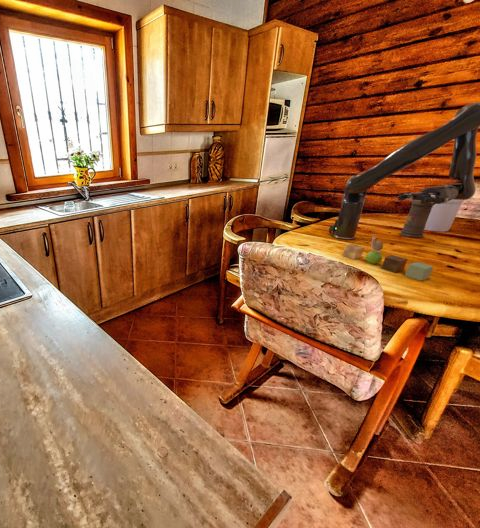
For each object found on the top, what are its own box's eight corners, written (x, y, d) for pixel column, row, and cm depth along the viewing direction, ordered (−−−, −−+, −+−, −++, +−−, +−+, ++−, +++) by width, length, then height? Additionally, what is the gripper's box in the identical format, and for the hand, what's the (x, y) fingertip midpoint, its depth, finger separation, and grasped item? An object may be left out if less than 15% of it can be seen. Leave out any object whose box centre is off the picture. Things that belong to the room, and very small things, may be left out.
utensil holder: (427, 224, 167) (438, 194, 160) (458, 230, 153) (472, 198, 146) (406, 226, 165) (417, 196, 158) (436, 233, 151) (449, 201, 144)
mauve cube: (342, 255, 129) (345, 245, 127) (349, 254, 131) (352, 244, 129) (353, 259, 125) (356, 249, 123) (361, 257, 127) (364, 247, 125)
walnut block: (381, 268, 115) (385, 257, 113) (389, 266, 117) (393, 255, 115) (395, 272, 111) (399, 261, 109) (403, 270, 113) (407, 259, 111)
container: (420, 234, 151) (432, 201, 144) (424, 238, 144) (438, 204, 137) (398, 232, 156) (409, 200, 149) (401, 236, 149) (413, 203, 142)
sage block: (404, 275, 109) (409, 264, 107) (412, 273, 110) (417, 261, 108) (420, 280, 104) (425, 268, 102) (428, 278, 106) (433, 266, 104)
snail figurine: (372, 259, 124) (380, 234, 119) (383, 265, 118) (392, 238, 113) (359, 259, 124) (367, 234, 119) (369, 265, 118) (378, 239, 114)
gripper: (417, 184, 125) (394, 188, 120) (461, 188, 112) (437, 192, 107) (411, 201, 128) (388, 205, 123) (453, 206, 115) (430, 211, 110)
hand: (411, 199), depth 115 cm, fingers open, 8 cm apart
